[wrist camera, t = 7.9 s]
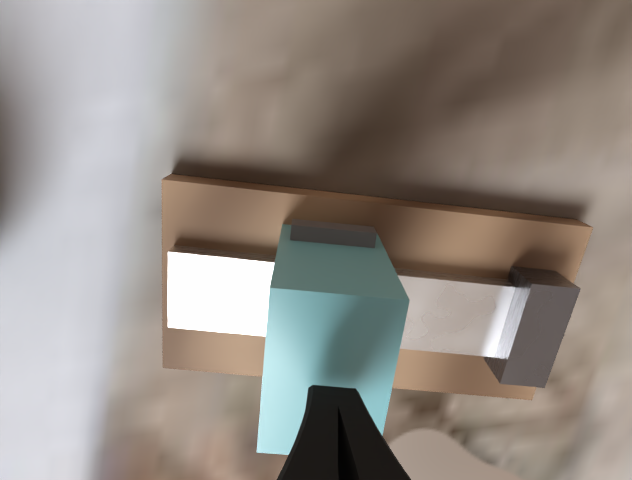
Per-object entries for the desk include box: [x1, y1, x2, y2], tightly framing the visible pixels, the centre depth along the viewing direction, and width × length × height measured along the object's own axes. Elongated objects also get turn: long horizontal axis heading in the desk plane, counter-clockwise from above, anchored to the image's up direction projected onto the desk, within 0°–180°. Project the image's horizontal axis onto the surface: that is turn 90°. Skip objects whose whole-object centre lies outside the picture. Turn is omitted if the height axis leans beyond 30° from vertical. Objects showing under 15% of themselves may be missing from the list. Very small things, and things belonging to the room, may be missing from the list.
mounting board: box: [162, 174, 593, 400], centre depth 19 cm, size 18×9×1 cm, turn 83°
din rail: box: [168, 245, 580, 388], centre depth 18 cm, size 17×5×2 cm, turn 83°
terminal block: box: [257, 219, 410, 455], centre depth 15 cm, size 4×7×6 cm, turn 174°
